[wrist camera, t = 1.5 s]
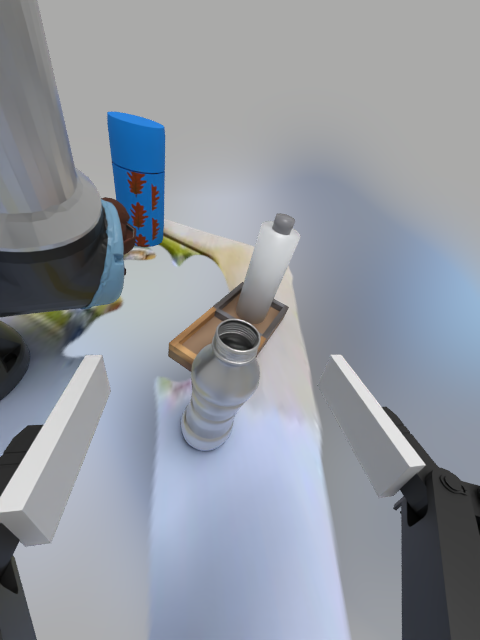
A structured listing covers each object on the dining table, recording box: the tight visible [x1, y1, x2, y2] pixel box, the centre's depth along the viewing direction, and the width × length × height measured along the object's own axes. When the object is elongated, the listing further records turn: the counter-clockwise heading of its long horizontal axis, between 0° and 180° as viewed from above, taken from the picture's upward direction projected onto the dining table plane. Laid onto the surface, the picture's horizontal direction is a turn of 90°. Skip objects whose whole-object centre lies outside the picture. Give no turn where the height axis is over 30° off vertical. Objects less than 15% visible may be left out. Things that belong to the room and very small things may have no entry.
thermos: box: [107, 112, 165, 247], centre depth 55 cm, size 11×11×25 cm
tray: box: [168, 282, 289, 371], centre depth 45 cm, size 12×24×4 cm, turn 149°
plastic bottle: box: [181, 319, 261, 451], centre depth 25 cm, size 6×7×20 cm
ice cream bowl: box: [101, 197, 136, 275], centre depth 46 cm, size 11×11×15 cm
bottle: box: [236, 214, 300, 324], centre depth 42 cm, size 6×6×20 cm
